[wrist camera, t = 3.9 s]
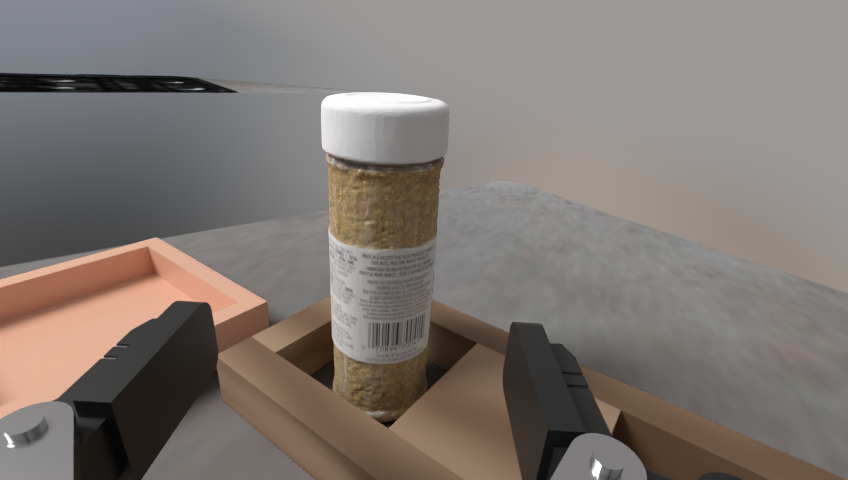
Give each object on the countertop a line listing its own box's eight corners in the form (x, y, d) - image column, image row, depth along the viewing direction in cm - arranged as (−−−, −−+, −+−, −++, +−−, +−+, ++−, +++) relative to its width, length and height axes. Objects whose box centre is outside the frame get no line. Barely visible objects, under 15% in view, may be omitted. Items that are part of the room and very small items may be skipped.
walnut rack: (372, 308, 27) (372, 273, 26) (862, 550, 15) (898, 502, 14) (222, 399, 19) (214, 355, 18) (968, 1034, 7) (1065, 1007, 6)
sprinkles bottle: (421, 357, 23) (440, 93, 17) (432, 426, 19) (463, 107, 13) (334, 360, 22) (326, 87, 17) (325, 431, 18) (312, 99, 13)
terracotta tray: (163, 270, 30) (156, 237, 29) (270, 340, 23) (267, 301, 22) (-99, 356, 21) (-122, 312, 20) (-37, 508, 14) (-66, 454, 13)
